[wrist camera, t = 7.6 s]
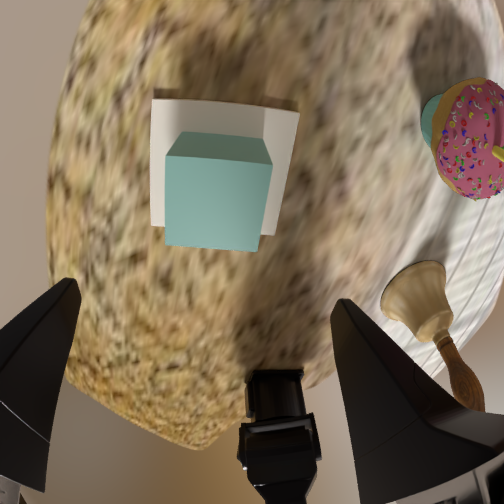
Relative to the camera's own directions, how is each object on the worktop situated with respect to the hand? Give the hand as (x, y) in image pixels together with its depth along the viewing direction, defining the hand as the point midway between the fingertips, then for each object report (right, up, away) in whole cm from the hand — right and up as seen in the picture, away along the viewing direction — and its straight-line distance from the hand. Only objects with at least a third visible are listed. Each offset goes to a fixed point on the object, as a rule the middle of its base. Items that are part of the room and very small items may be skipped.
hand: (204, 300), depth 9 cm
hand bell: (+19, -2, +18) cm, 26 cm away
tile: (-1, +7, +10) cm, 12 cm away
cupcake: (+16, +12, +8) cm, 21 cm away
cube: (-1, +7, +9) cm, 11 cm away
